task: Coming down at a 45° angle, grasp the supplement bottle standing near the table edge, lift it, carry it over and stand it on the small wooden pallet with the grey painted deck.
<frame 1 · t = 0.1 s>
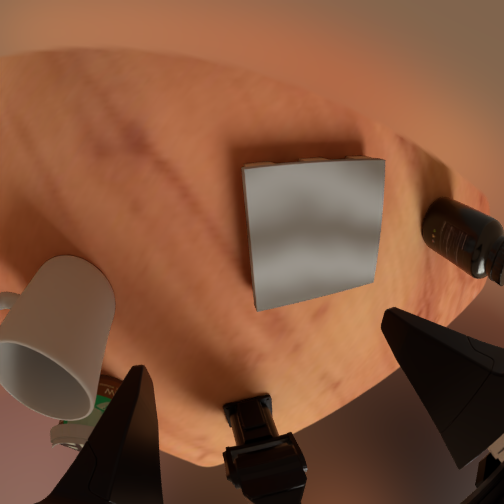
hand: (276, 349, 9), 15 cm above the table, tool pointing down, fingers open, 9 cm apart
mug: (59, 290, 21), on the table
supplement bottle: (436, 221, 28), on the table
food container: (111, 385, 27), on the table
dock: (310, 225, 24), on the table
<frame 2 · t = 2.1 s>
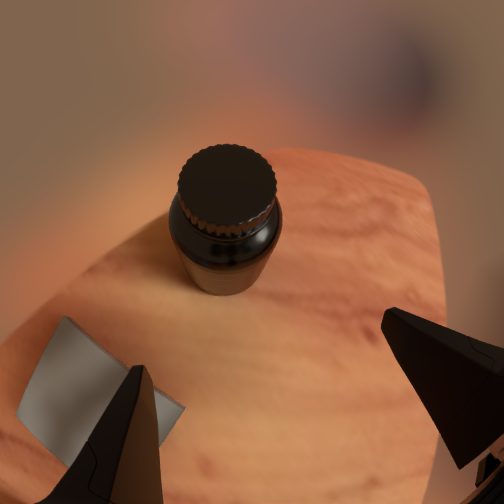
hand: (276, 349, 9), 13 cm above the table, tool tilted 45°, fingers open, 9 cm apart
supplement bottle: (223, 259, 24), on the table
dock: (96, 413, 18), on the table
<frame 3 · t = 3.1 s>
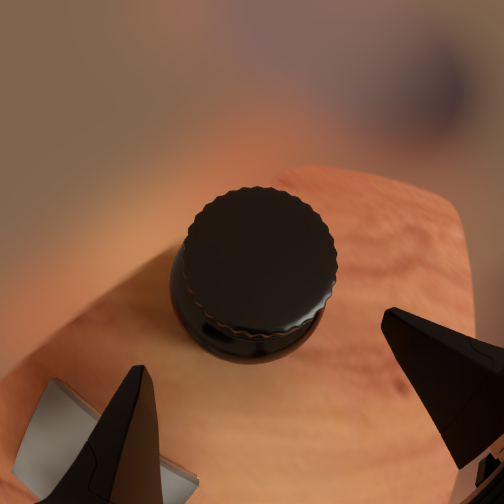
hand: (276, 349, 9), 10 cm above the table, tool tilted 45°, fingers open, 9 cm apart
supplement bottle: (237, 310, 19), on the table
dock: (98, 475, 13), on the table
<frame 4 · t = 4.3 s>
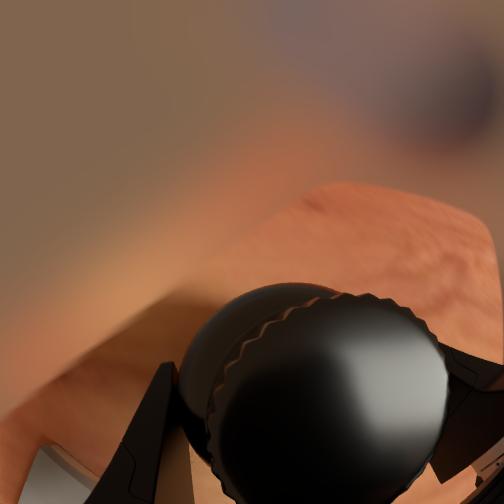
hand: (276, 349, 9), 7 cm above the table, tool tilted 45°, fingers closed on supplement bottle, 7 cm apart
supplement bottle: (257, 371, 15), on the table, touching gripper
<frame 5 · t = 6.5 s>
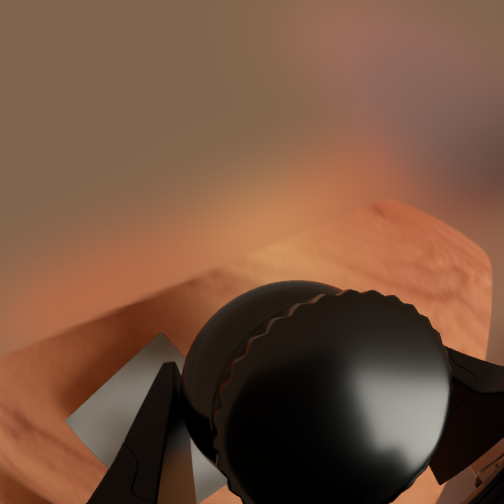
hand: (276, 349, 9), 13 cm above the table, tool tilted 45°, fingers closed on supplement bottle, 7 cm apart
supplement bottle: (258, 370, 15), point 6 cm above the table, touching gripper
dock: (167, 431, 18), on the table
when the fingers open (10 cm above the table, at t = 8.3 s): supplement bottle drops 1 cm, resting on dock.
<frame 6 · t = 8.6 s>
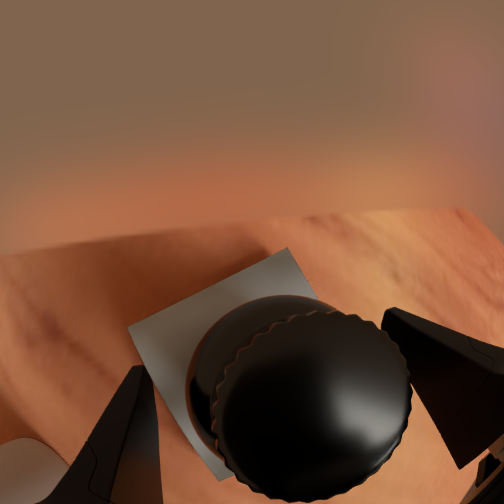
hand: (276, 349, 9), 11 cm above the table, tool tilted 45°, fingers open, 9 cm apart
mug: (33, 471, 12), on the table
supplement bottle: (255, 371, 16), point 2 cm above the table, touching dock
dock: (249, 367, 18), on the table
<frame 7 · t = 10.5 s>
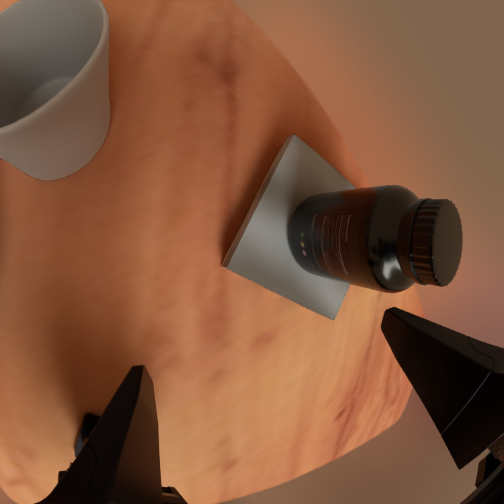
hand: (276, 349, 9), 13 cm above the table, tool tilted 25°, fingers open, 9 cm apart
mug: (51, 112, 15), on the table
supplement bottle: (316, 234, 23), point 2 cm above the table, touching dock
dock: (300, 231, 25), on the table
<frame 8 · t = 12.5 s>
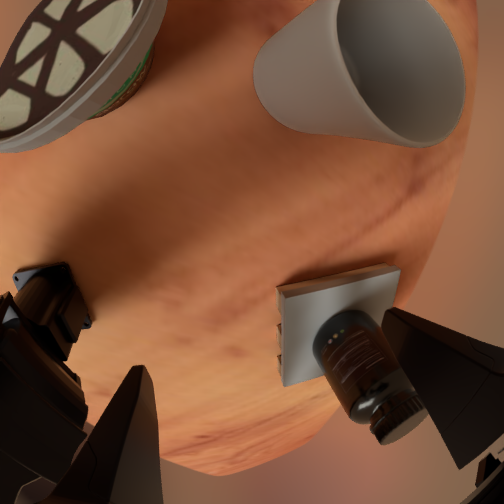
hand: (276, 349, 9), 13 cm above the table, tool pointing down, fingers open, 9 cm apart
mug: (313, 62, 17), on the table
supplement bottle: (340, 333, 26), point 2 cm above the table, touching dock
food container: (120, 75, 14), on the table
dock: (331, 319, 28), on the table
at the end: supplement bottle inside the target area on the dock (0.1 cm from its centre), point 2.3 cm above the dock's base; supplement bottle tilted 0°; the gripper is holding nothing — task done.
